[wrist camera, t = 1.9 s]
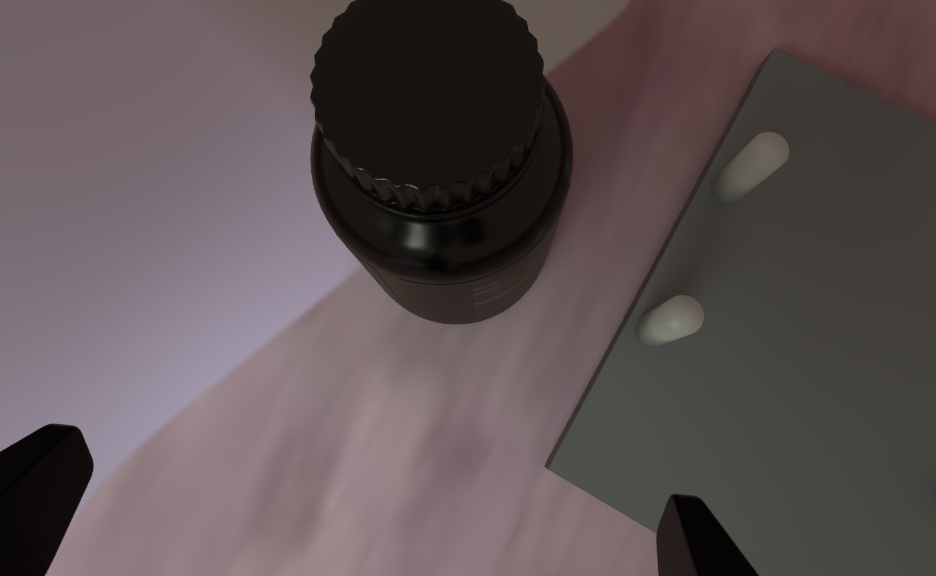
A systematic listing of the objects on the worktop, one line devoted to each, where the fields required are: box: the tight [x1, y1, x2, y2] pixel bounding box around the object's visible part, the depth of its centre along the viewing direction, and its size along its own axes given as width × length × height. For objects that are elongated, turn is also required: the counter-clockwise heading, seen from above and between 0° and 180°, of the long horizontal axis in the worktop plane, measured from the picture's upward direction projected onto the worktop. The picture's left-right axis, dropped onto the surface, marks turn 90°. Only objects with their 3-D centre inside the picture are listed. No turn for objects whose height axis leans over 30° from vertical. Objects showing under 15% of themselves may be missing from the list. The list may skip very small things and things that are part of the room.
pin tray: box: [545, 47, 936, 576], centre depth 21 cm, size 18×13×5 cm
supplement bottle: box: [310, 0, 573, 324], centre depth 18 cm, size 7×7×12 cm
